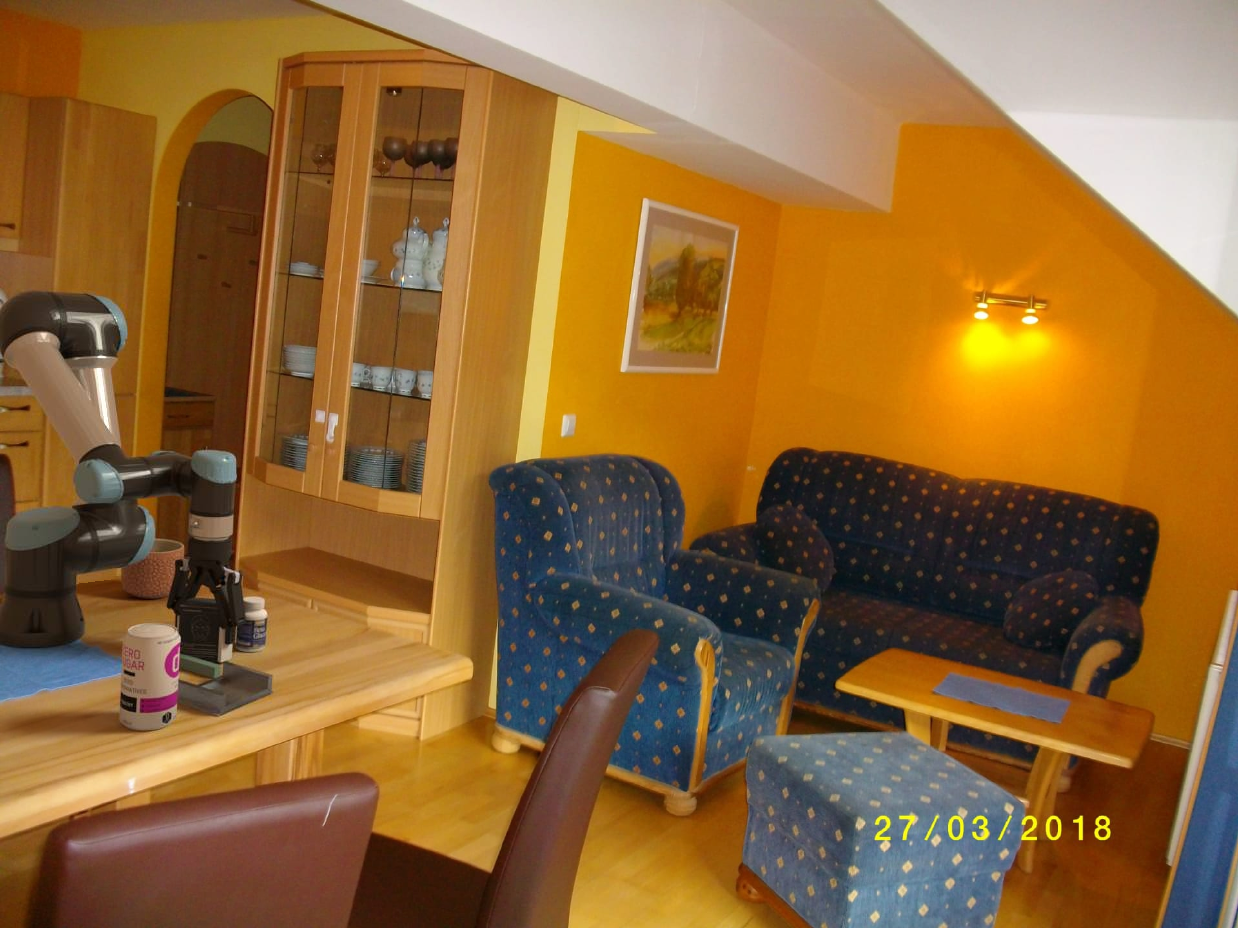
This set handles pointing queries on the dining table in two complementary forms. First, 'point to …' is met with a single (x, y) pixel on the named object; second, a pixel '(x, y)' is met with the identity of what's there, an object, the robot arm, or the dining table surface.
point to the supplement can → (149, 676)
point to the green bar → (199, 666)
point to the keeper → (225, 690)
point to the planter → (153, 571)
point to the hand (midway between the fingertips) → (203, 653)
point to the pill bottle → (252, 626)
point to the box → (200, 628)
